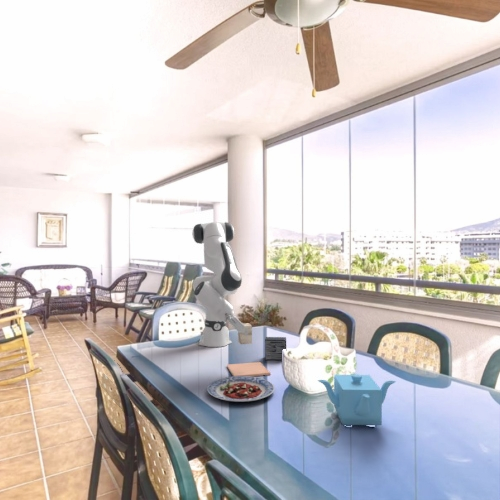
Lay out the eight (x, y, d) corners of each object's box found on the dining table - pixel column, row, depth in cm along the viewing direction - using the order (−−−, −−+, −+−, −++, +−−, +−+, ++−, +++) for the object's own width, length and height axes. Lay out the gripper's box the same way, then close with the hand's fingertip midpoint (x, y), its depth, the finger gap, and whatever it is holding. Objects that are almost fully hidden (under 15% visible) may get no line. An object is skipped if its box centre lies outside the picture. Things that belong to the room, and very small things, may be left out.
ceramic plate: (288, 392, 151) (288, 384, 151) (241, 413, 132) (241, 404, 132) (240, 376, 168) (240, 370, 168) (193, 393, 150) (193, 385, 150)
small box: (286, 357, 197) (286, 336, 196) (286, 361, 190) (286, 339, 190) (265, 356, 198) (265, 336, 197) (264, 360, 191) (264, 339, 191)
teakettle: (347, 404, 139) (347, 363, 139) (398, 421, 125) (398, 375, 125) (315, 421, 126) (315, 375, 126) (368, 442, 112) (368, 391, 112)
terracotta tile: (226, 366, 181) (226, 364, 181) (259, 364, 185) (259, 361, 185) (234, 378, 166) (234, 375, 166) (270, 374, 170) (270, 372, 170)
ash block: (238, 341, 177) (238, 323, 177) (249, 340, 178) (249, 323, 178) (240, 344, 172) (240, 326, 172) (251, 343, 173) (251, 325, 173)
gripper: (233, 310, 163) (256, 332, 166) (224, 303, 183) (244, 323, 185) (223, 321, 162) (246, 343, 165) (215, 313, 182) (235, 332, 184)
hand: (245, 332), depth 175 cm, fingers closed on ash block, 5 cm apart
